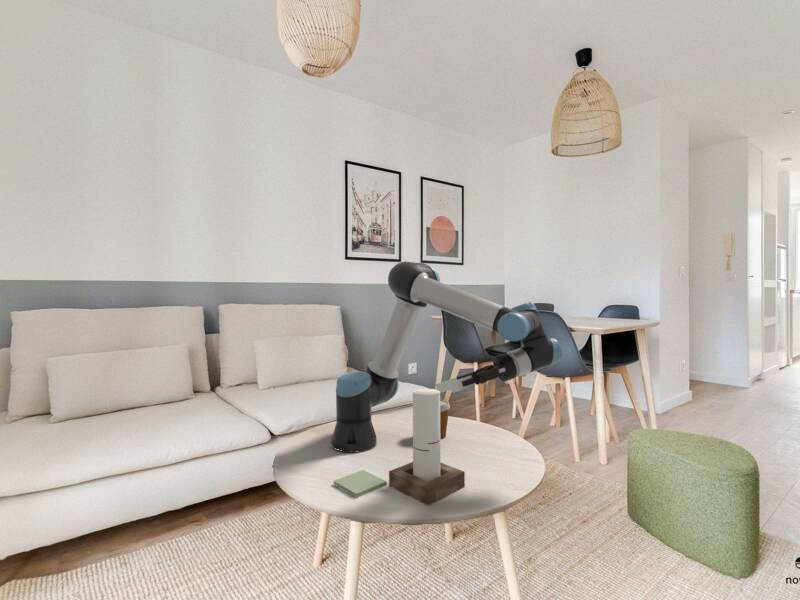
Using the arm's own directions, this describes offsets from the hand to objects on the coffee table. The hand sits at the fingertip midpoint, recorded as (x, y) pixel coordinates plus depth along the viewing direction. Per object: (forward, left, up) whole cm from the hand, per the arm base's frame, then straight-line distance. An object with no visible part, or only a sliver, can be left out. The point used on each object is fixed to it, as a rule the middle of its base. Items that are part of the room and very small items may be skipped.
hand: (443, 388), depth 116 cm
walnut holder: (+1, -8, -24) cm, 26 cm away
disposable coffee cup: (-23, +23, -25) cm, 41 cm away
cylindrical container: (+1, -8, -25) cm, 26 cm away
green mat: (-12, -20, -24) cm, 34 cm away
